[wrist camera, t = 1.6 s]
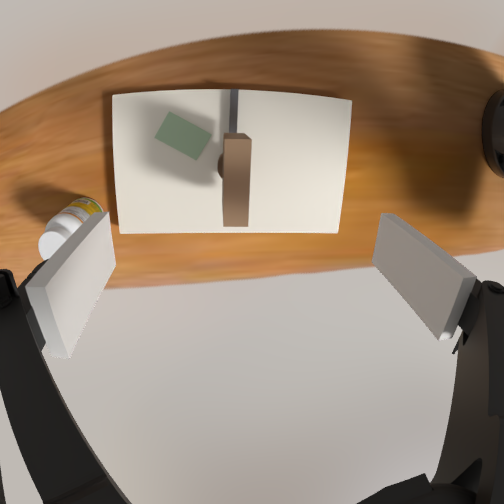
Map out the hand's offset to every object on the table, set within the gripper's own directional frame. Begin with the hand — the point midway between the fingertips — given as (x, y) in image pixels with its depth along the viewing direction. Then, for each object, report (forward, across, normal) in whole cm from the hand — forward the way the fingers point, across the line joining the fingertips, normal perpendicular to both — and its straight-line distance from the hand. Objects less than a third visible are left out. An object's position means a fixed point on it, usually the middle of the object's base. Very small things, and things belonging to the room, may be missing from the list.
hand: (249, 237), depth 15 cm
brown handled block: (+20, 0, -2) cm, 20 cm away
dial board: (+23, 0, 0) cm, 23 cm away
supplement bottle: (+23, +18, +6) cm, 30 cm away
